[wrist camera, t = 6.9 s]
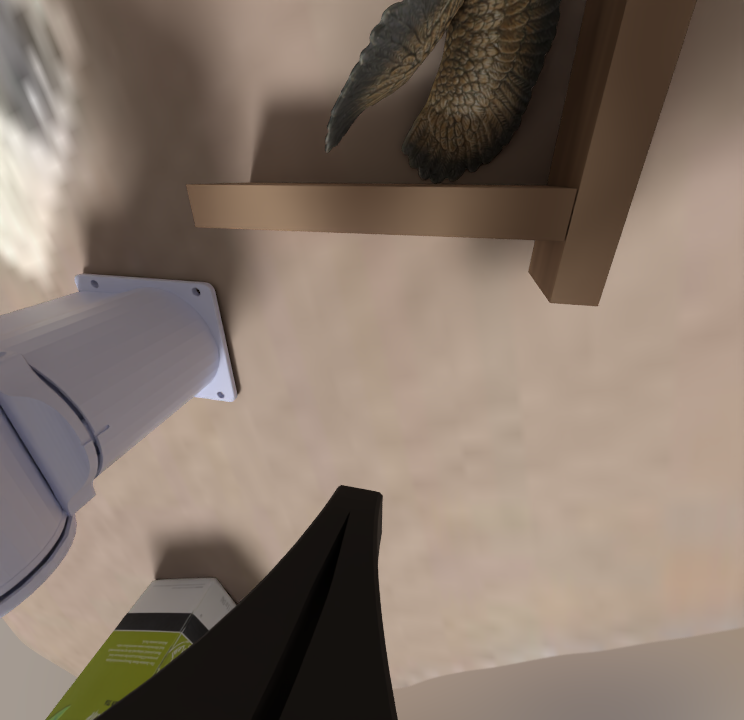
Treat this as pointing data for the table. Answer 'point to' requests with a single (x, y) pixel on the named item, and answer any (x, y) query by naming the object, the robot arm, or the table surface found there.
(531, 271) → the walnut corner bracket
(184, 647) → the tea box
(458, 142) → the eagle figurine
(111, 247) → the table surface
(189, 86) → the table surface
